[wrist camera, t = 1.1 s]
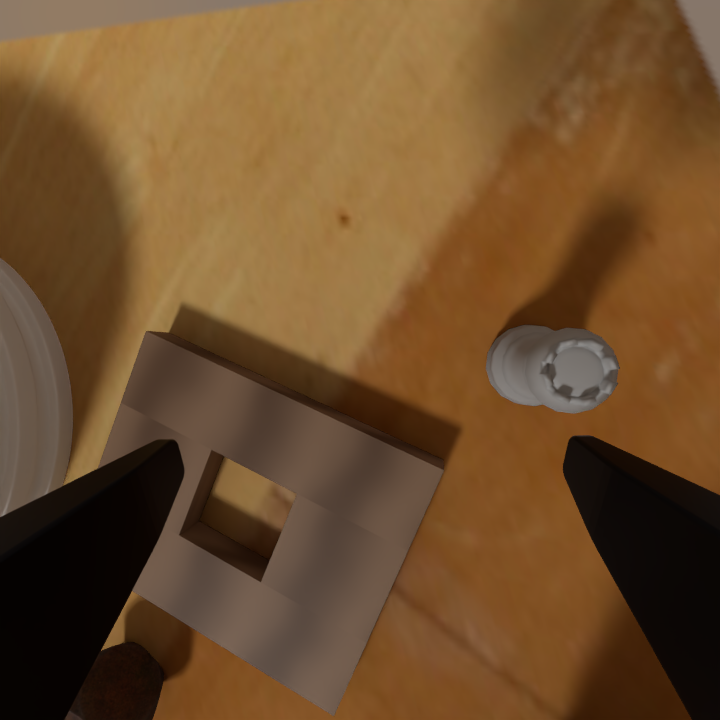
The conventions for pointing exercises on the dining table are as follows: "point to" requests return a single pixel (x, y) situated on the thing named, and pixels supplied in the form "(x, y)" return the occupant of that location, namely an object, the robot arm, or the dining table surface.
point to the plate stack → (30, 397)
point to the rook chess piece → (552, 368)
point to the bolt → (120, 686)
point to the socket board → (303, 525)
